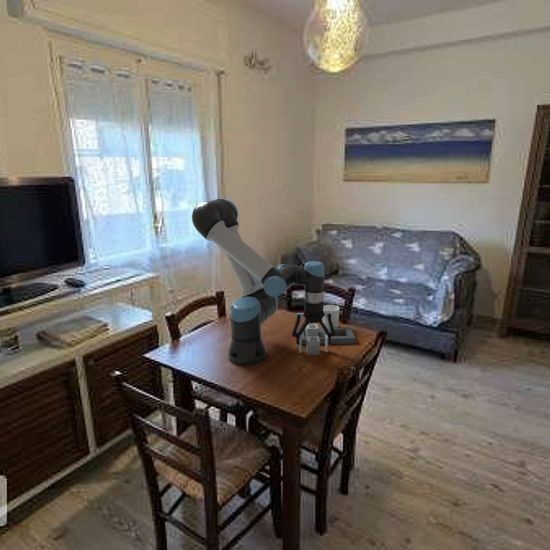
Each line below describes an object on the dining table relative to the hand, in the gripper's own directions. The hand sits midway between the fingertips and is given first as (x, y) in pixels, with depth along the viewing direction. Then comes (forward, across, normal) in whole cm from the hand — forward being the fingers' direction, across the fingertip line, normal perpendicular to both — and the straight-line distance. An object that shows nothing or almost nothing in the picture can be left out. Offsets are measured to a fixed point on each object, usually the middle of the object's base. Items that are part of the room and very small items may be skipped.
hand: (313, 351), depth 165 cm
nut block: (0, 0, 0) cm, 0 cm away
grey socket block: (0, +7, +12) cm, 14 cm away
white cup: (+1, +11, +23) cm, 25 cm away
